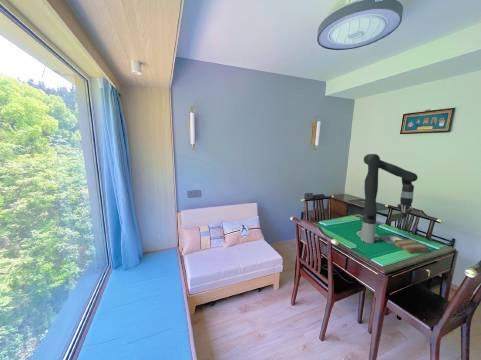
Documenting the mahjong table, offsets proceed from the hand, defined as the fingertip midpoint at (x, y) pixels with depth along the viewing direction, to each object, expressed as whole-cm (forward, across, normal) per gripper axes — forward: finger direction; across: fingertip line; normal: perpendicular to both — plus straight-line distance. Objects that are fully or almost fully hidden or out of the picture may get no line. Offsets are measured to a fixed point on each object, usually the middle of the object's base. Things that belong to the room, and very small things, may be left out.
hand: (404, 217), depth 157 cm
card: (+22, -2, -1) cm, 23 cm away
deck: (+23, +9, -1) cm, 25 cm away
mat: (+23, -6, -1) cm, 24 cm away
